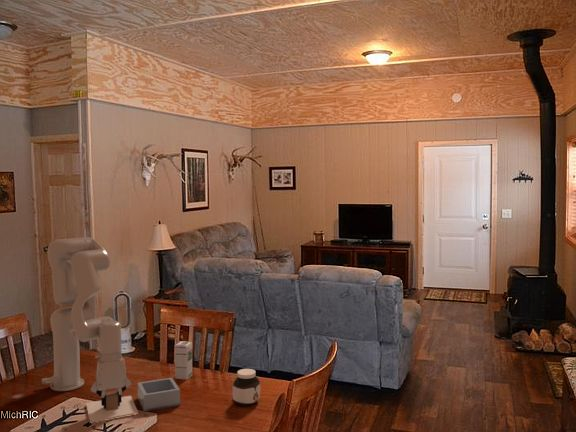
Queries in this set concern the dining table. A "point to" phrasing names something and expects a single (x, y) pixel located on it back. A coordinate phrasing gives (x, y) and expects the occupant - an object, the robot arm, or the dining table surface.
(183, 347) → the syrup box
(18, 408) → the dining table surface
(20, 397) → the dining table surface
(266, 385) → the dining table surface
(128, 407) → the lid
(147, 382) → the dish
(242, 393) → the spread jar
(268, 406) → the dining table surface
